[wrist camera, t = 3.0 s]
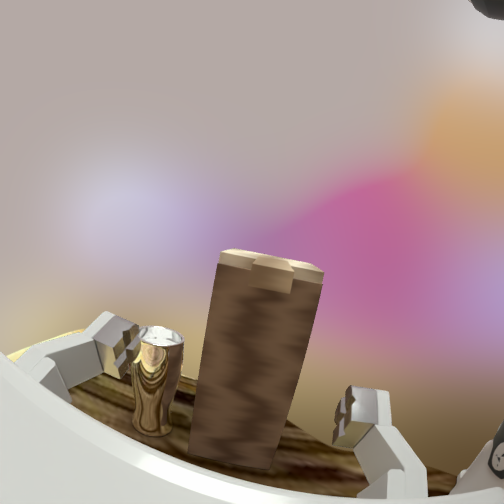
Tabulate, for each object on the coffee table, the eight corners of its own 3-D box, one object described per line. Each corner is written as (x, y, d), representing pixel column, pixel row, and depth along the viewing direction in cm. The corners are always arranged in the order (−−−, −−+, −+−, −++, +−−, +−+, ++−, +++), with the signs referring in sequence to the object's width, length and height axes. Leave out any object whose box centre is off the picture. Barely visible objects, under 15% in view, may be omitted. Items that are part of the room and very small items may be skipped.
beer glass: (143, 443, 32) (149, 349, 31) (121, 415, 36) (124, 326, 36) (184, 431, 37) (197, 343, 36) (159, 407, 42) (167, 323, 41)
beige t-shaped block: (309, 272, 42) (311, 260, 42) (343, 304, 21) (348, 282, 21) (232, 256, 42) (234, 245, 42) (193, 274, 21) (197, 252, 21)
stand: (270, 423, 44) (309, 271, 42) (268, 469, 32) (322, 284, 30) (205, 409, 44) (233, 256, 43) (187, 453, 32) (217, 263, 31)
